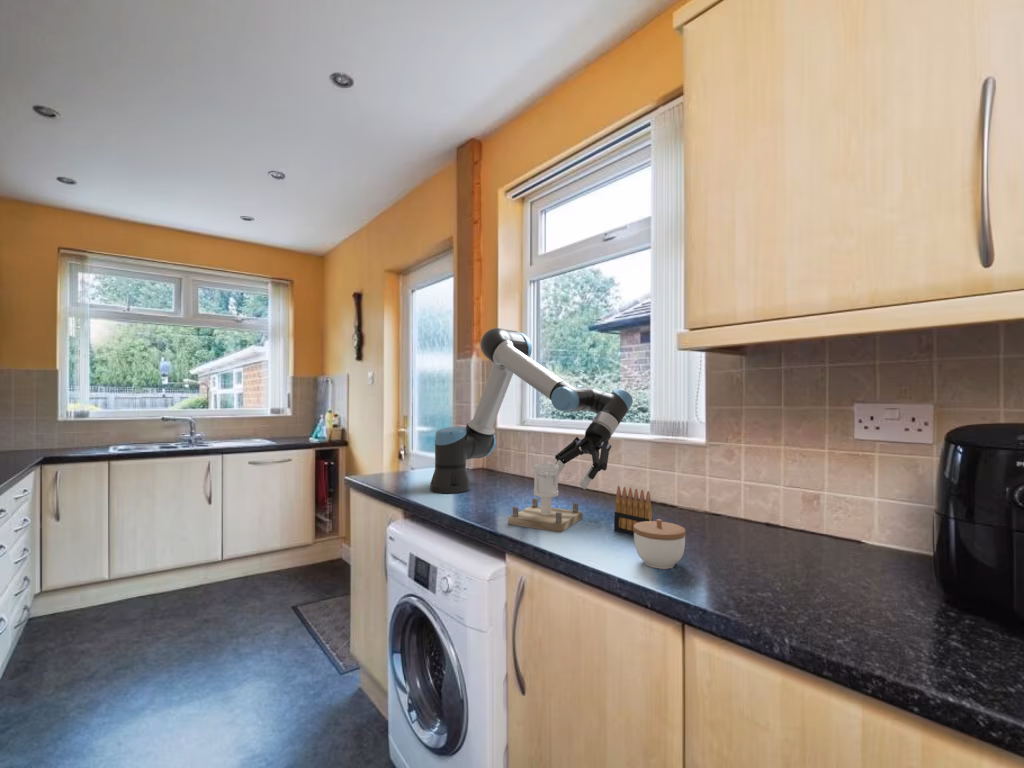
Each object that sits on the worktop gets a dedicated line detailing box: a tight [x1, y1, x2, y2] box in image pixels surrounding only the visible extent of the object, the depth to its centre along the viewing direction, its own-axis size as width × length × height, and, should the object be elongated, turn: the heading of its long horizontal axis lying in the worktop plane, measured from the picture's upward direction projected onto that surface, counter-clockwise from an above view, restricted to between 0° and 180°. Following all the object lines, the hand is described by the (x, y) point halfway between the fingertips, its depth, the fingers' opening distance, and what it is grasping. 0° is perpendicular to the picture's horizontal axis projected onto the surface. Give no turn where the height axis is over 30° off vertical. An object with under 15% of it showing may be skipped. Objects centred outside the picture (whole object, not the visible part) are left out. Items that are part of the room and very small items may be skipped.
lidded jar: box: [633, 518, 687, 570], centre depth 101 cm, size 11×11×9 cm
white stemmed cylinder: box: [533, 461, 559, 515], centre depth 135 cm, size 7×7×15 cm
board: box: [507, 497, 583, 533], centre depth 135 cm, size 16×16×4 cm
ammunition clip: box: [613, 485, 654, 537], centre depth 123 cm, size 11×2×12 cm, turn 43°
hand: (565, 482), depth 139 cm, fingers open, 13 cm apart
